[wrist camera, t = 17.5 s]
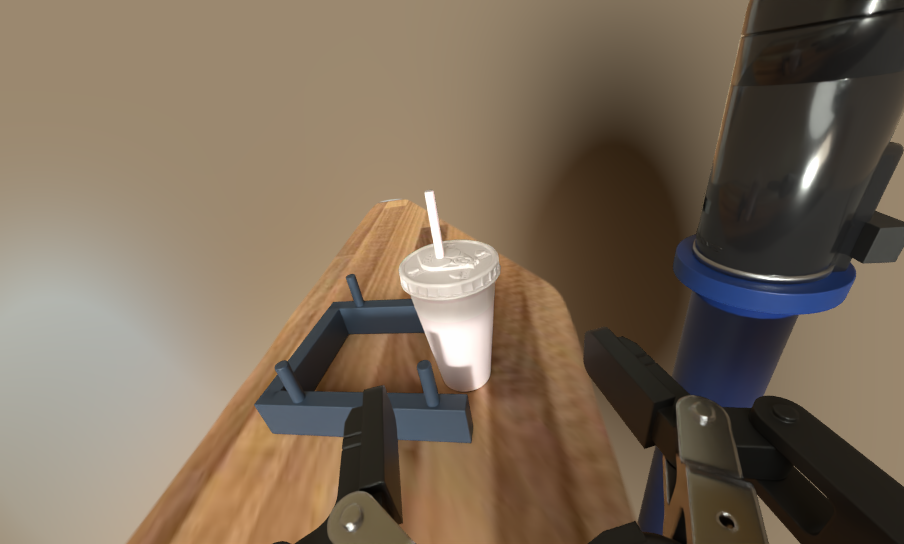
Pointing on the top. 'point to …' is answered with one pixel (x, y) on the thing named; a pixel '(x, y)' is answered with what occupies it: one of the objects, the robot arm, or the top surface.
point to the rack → (325, 413)
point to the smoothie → (454, 302)
